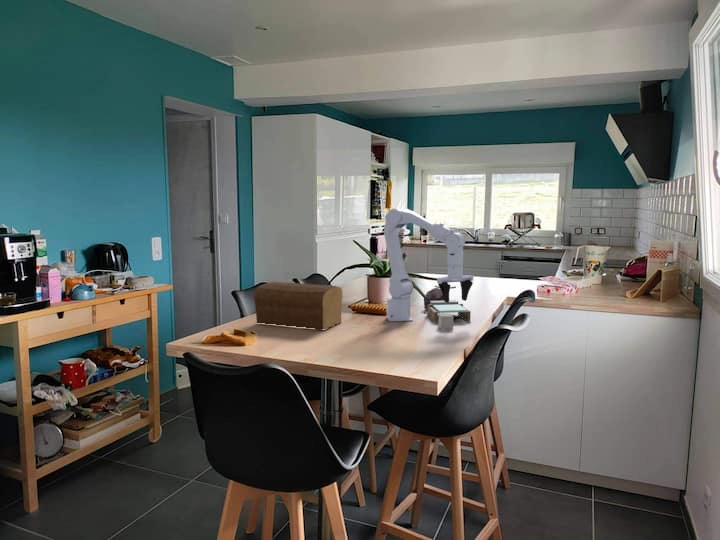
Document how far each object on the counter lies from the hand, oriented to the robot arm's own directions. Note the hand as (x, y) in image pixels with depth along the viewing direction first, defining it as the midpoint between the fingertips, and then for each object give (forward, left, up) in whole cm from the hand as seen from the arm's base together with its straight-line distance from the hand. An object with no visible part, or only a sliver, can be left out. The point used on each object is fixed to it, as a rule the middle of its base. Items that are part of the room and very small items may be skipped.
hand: (455, 301), depth 203 cm
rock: (0, +35, -10) cm, 36 cm away
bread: (-59, +12, -10) cm, 61 cm away
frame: (+1, +14, -9) cm, 17 cm away
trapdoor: (+1, +14, -6) cm, 16 cm away
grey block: (-4, -3, -7) cm, 9 cm away
